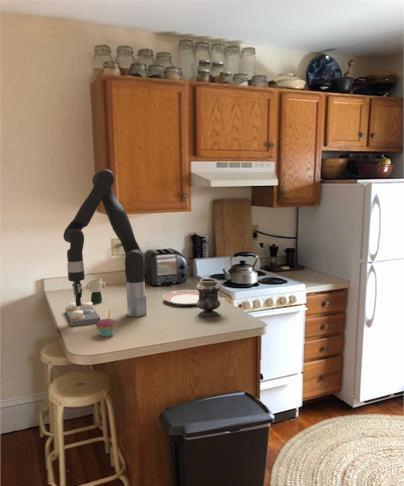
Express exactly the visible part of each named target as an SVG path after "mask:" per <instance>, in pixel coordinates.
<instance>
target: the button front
mask: <svg viewBox="0 0 404 486" xmlns="http://www.w3.org/2000/svg"><path fill="white" fill-rule="evenodd" d="M81 317H83V311H82V310H76V311H73V318H81Z"/></svg>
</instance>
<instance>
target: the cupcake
mask: <svg viewBox="0 0 404 486" xmlns="http://www.w3.org/2000/svg"><path fill="white" fill-rule="evenodd" d="M110 316H111V309H109V310H108V314H107V318H103V319H100V321H99V322H97V323H95V327H96V329H97V330H98V331H99V332H100V336H101V337H110V336H112V335H113V332H114V329H115V328H116V327H117V322H116V321H115V320H114V319H112V318H110Z"/></svg>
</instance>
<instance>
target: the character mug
mask: <svg viewBox="0 0 404 486" xmlns="http://www.w3.org/2000/svg"><path fill="white" fill-rule="evenodd" d="M106 284H107V283H106V282H103V279H102V278H92V279H89V280H88V283H86V284H85V290H87V291H88V290H89V292H91V296H90V302H92V303H94V304H96V303H97V304H98V303H101V302H102V301H103V297H102V291H103V289H105V288H107V287H106ZM88 286H89V287H88Z"/></svg>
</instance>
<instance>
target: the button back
mask: <svg viewBox="0 0 404 486" xmlns="http://www.w3.org/2000/svg"><path fill="white" fill-rule="evenodd" d="M68 307H69V309H78V306H76V301H74V302H69V303H68Z"/></svg>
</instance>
